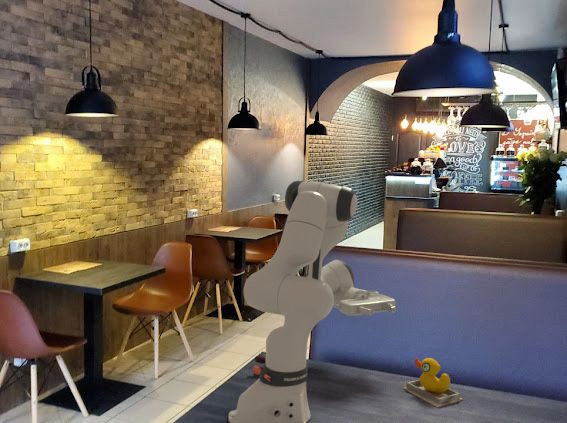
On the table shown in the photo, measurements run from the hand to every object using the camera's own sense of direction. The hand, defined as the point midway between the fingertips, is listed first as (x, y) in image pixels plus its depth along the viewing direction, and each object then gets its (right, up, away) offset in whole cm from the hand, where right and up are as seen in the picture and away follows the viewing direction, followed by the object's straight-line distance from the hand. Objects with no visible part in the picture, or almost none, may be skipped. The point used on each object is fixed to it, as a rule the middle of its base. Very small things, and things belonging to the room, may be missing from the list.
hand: (382, 311), depth 180 cm
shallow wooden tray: (+13, -23, -11) cm, 29 cm away
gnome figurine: (-34, -21, +1) cm, 40 cm away
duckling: (+13, -23, -9) cm, 28 cm away
